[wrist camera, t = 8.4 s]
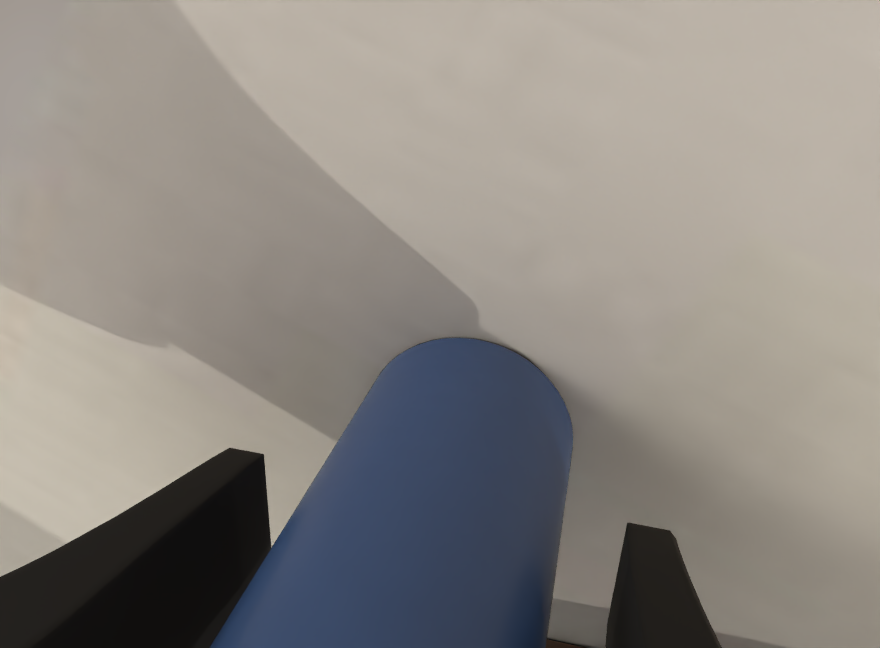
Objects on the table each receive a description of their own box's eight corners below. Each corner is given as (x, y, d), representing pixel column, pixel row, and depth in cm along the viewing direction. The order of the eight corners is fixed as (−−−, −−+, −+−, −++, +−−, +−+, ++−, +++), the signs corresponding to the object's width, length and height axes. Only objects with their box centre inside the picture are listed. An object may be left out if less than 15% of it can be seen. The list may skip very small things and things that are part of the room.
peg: (560, 528, 15) (491, 1035, 8) (368, 492, 16) (150, 924, 9) (586, 353, 13) (527, 808, 6) (369, 321, 14) (92, 693, 7)
